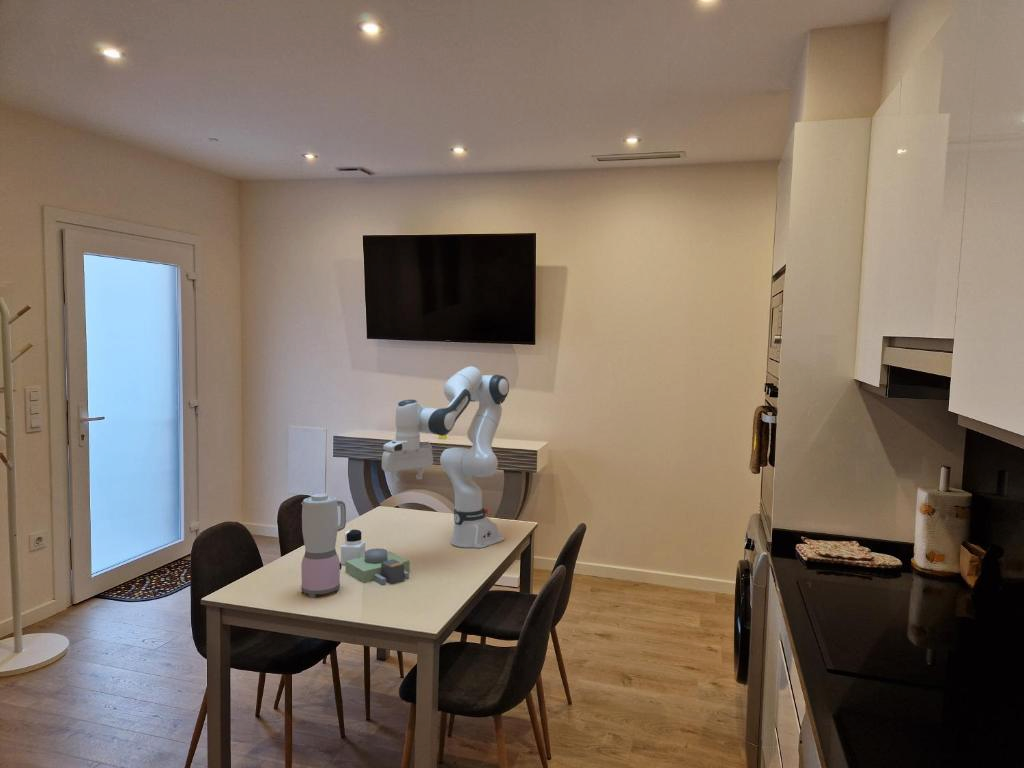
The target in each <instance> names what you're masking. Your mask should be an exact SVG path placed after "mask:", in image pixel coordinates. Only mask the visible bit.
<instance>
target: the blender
mask: <svg viewBox="0 0 1024 768" xmlns="http://www.w3.org/2000/svg"><path fill="white" fill-rule="evenodd" d="M300 504H301V505H302V508H301V528H302V529H301V531H302V538H303V544H304V550H305V551H304V555H303V556H302V559H301V573H300V574H301V585H300V586H301V587H300V588H301V594H308V597H309V598H311V599H312V598H313V599H316V596H317V595H325V594H329V593H333V592H336V593H339V591H340V590H341V589H340V586H341V583H340V581H341V580H340V577H341V575H340V574H341V572H340V571H341V570H342V566H343V565H341V561H340V557H339V555H338V553H337V550H336V543H337V538H338V537H337V536H338V532H340V531H342V530H344V529H345V528H346V523H347V511H346V509H347V506H346V504H345V502H344V501H343V500H338V499H337V498H336V497H335V496H329V495H328V494H327V493H315V494H313V495H311V496H310V497H307V498H304V499H303V500H302V502H301V503H300ZM338 507H340V524H339V515H338V513H339V511H338Z"/></svg>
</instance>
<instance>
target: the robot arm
mask: <svg viewBox="0 0 1024 768" xmlns="http://www.w3.org/2000/svg"><path fill="white" fill-rule="evenodd" d="M509 390H510V384H509V380H508V379H507V378H506V376H504V375H501V374H493V375H492V374H486V375H485V374H484V375H482V372H481V371H480V370H479V369H478V368H477V367H475V366H471V365H470V366H466V367H464V368H462V369H460V370H459V371H457V372H455V374H453V375H452V376H451V377H449V378H448V379H447V380H446V381H445V383H444V386H443V393H444V396H445V398H446V399H447V400H448V402H449V404H448V405H447V406H446V407H440V408H437V407H427V406H424V405H421V404H420V403H419V402H418V400H416V399H405V400H401V401H399V402H398V403H397V404H396V409H395V428H396V431H395V432H396V433H395V439H392V440H390V441H389V442H387V443H384V444H383V445H382V446H383V447H382V448H383V453H382V457H381V470H383V472H385V473H386V472H387V473H390V474H391V476H392V477H393V482H394V483H395V484H398V483H399V484H400V483H401V480H400V479H401V478H400V477H398V472H399V471H405V470H406V471H407V470H413V469H418V473H416V475H415V476H416V478H415V479H416V480H418V481H419V480H422V479H423V474H424V472H425V468H426V467H432V466H433V464H434V457H433V445H432V444H431V443H430V442H429V441H423V442H422V441H421V439H420V438H421V436H420V435H421V434H420V433H425V434H430V435H431V434H432V435H433V434H434V435H437V436H442V437H443V436H444V437H445V436H446V435H448V434H449V433H450V432H451V431H452V429H453V428H454V426H455V424H456V422H457V420H458V419H459V417H461V415H462V414H463V413H464V411H465V410H466V409H467V407H468V406H469V404H470V403H471V402H478V404H479V405H478V409H477V410H476V411H475V414H474V415H473V418H472V419H471V422H470V425H469V427H468V429H467V432H466V434H467V439H468V440H469V442H470V443H472V446H471V447H470V448H466V447H458V446H457V447H451V448H449V447H448V448H446V449H444V450H443V452H441V455H440V457H439V458H440V459H439V463H440V467H441V469H442V470H443V471H444V472H445V473H446V475H447V476H448V477H449V480H450V481H451V484H452V487H453V490H454V510H453V522H454V526H453V534H452V538H451V542H450V543H451V544H452V545H453V546H455V547H459V548H476V549H484V548H486V547H488V546H492V545H494V544H498V543H500V542H503V541H505V537H504V536H503V535H501V534H500V532H499V527H498V525H497V524H496V523H495V522H493V521H492V520H491V519H490V518H489V517H487V516H486V515H489V514H490V513H491V510H490V509H489V508H484V507H483V491H482V489H481V487H480V486H479V485H478V484H477V483H476V482H475V481H474V478H473V477H476V478H485V477H492V476H493V475H494V474H495V473H496V472H497V470H498V468H499V467H498V466H499V460H498V457H497V455H496V454H495V453H494V450H493V449H492V447H493V445H492V444H493V440H494V437H495V435H496V433H497V429H498V427H499V425H500V421H501V418H502V417H501V416H502V413H503V408H502V405H501V404H503V403H504V402H505V400H506V398H507V397H508V395H509V392H510V391H509Z"/></svg>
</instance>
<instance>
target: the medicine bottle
mask: <svg viewBox="0 0 1024 768" xmlns="http://www.w3.org/2000/svg"><path fill="white" fill-rule="evenodd" d="M365 551H366V541H364V540H362V531H361V530H360V529H349V530H346V531H345V532H344V543H343V544H342V545H341V546H340V563H341V565H342V566H345V561H348V560H352V559H357V558H361V557H365Z"/></svg>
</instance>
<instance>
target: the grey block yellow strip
mask: <svg viewBox="0 0 1024 768" xmlns="http://www.w3.org/2000/svg"><path fill="white" fill-rule="evenodd" d="M381 576H383V577H384V578H386V583H388V584H390V585H394V584H395V585H396V584H398V583H402V582H405V579H404V564H403V562H402V563H400V562H398V561H396V560H394V559H393V560H388V561H384V562H381Z"/></svg>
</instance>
